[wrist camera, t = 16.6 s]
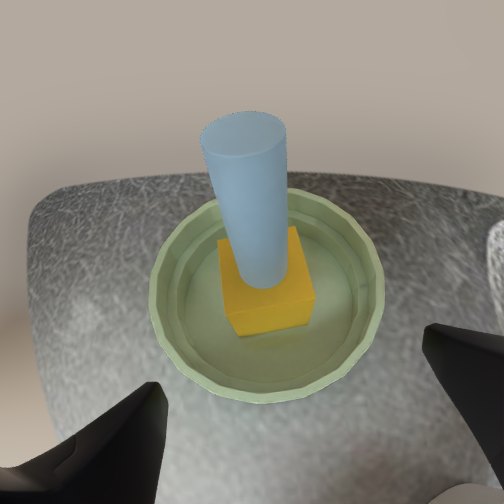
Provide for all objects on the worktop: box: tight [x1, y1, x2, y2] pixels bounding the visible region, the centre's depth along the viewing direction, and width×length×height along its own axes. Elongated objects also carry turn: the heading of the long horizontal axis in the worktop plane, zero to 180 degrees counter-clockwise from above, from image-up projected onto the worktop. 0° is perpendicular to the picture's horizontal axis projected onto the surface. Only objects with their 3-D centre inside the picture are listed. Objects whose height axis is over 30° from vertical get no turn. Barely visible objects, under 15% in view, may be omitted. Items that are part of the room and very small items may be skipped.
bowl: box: [148, 188, 385, 404], centre depth 19 cm, size 15×15×4 cm
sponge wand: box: [200, 111, 316, 337], centre depth 14 cm, size 5×5×14 cm
